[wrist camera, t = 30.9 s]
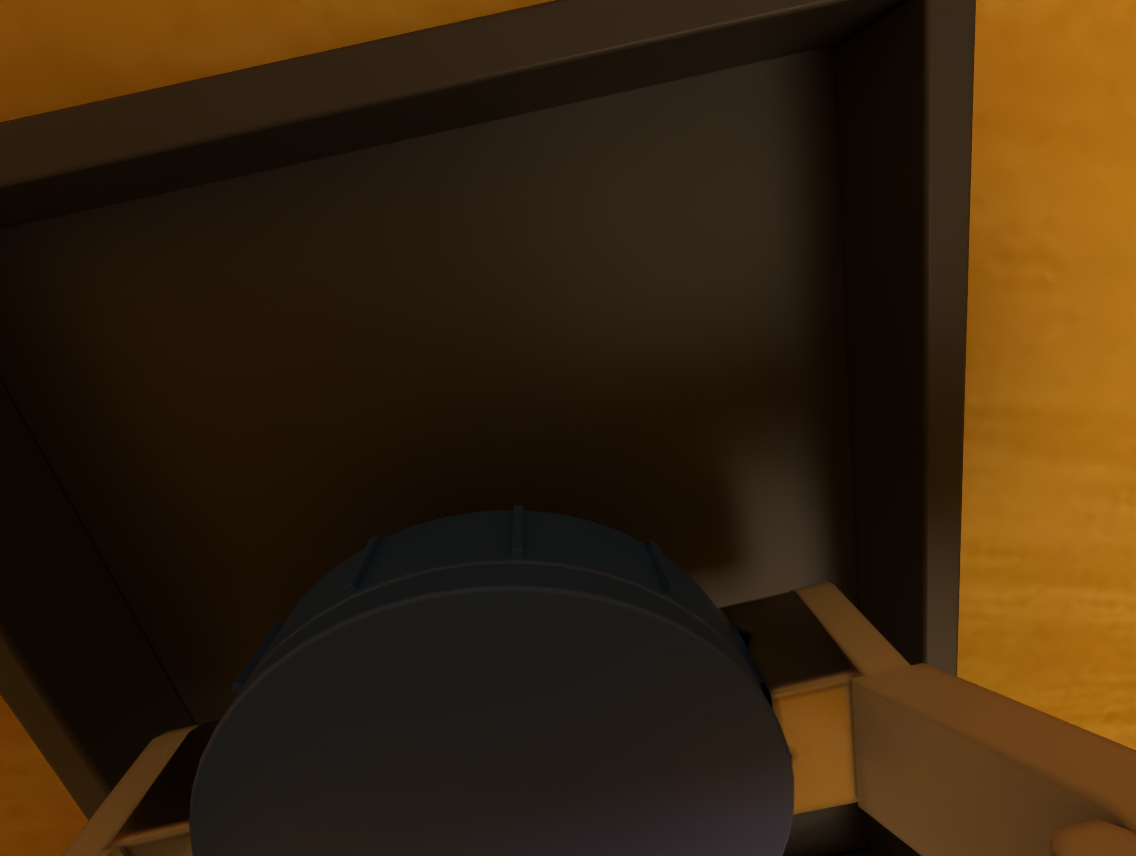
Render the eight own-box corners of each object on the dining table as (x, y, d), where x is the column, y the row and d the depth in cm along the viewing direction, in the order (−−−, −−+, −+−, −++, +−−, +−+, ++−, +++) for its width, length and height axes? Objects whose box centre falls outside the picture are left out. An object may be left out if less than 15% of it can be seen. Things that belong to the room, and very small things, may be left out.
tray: (874, 827, 12) (950, 953, 10) (328, 951, 12) (284, 1104, 9) (842, 9, 7) (981, -96, 5) (-84, 213, 7) (-353, 197, 5)
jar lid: (176, 572, 6) (66, 672, 4) (714, 457, 6) (773, 521, 5) (352, 926, 8) (313, 1075, 6) (760, 835, 8) (812, 964, 6)
